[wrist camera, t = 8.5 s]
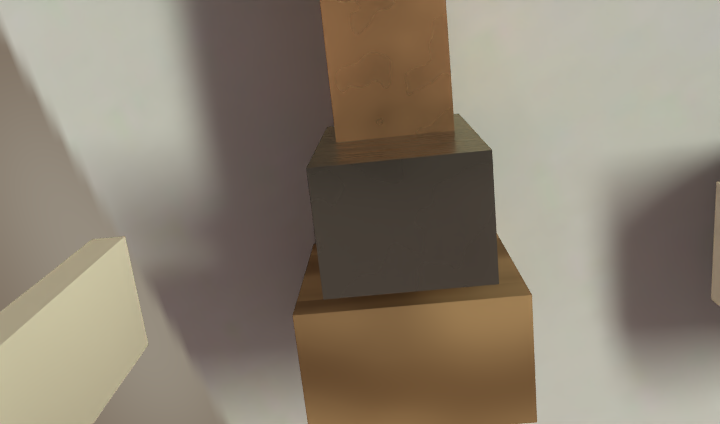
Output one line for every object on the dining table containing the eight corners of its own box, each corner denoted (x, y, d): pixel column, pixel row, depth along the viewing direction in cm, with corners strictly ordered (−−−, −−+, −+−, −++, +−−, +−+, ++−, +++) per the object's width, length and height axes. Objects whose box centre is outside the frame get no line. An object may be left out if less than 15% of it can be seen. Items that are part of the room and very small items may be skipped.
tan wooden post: (288, -198, 24) (245, -307, 16) (436, -217, 23) (465, -337, 16) (350, 323, 29) (339, 431, 21) (471, 313, 29) (506, 418, 21)
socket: (313, 244, 30) (292, 315, 23) (493, 227, 30) (531, 294, 22) (326, 341, 31) (310, 439, 24) (498, 327, 31) (536, 422, 23)
